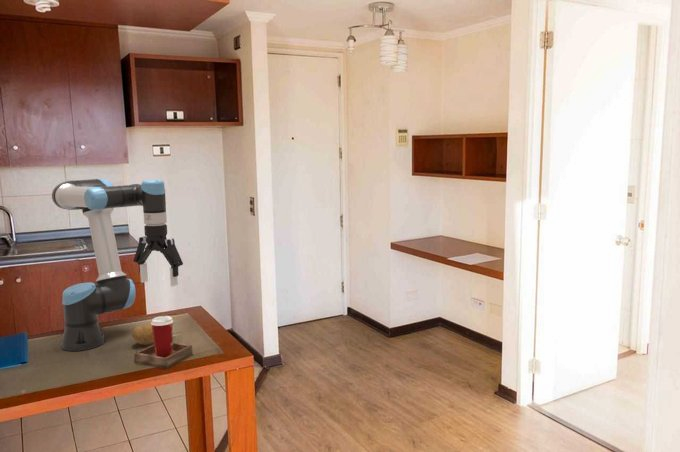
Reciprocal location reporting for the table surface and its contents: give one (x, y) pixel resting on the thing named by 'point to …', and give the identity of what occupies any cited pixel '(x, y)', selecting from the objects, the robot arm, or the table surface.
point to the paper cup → (162, 335)
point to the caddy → (150, 358)
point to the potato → (143, 334)
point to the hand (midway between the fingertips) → (159, 283)
